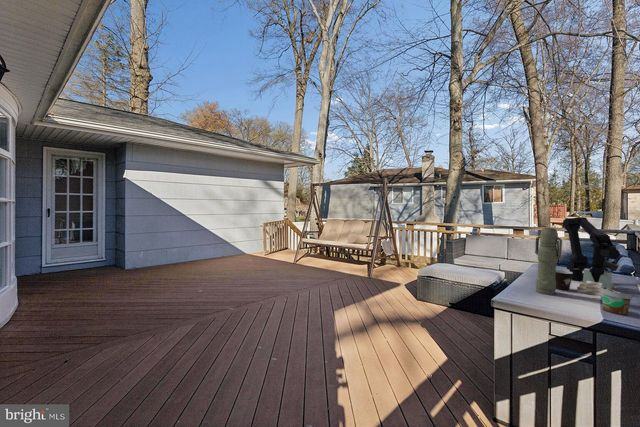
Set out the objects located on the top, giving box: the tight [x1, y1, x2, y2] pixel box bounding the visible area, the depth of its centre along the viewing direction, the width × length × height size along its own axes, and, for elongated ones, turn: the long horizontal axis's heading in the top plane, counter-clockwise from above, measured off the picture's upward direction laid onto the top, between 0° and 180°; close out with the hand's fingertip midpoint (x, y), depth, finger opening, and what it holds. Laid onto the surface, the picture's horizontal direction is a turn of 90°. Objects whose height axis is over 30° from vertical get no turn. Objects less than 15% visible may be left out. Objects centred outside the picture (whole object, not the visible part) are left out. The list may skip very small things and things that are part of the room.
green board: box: [582, 268, 613, 289], centre depth 184 cm, size 12×4×10 cm, turn 45°
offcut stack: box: [585, 281, 603, 291], centre depth 176 cm, size 8×6×5 cm
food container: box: [600, 287, 633, 316], centre depth 147 cm, size 12×6×10 cm, turn 5°
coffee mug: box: [555, 269, 573, 292], centre depth 181 cm, size 12×9×10 cm
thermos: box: [534, 227, 563, 296], centre depth 173 cm, size 9×12×35 cm
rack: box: [576, 282, 615, 297], centre depth 181 cm, size 14×26×2 cm, turn 135°
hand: (597, 282), depth 184 cm, fingers open, 5 cm apart
